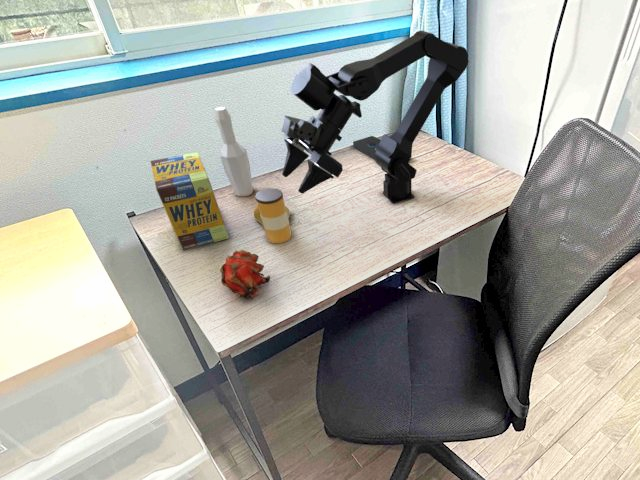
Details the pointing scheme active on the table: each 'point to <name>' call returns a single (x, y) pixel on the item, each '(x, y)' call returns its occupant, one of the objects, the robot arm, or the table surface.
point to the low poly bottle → (233, 156)
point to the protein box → (189, 200)
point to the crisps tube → (274, 215)
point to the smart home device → (367, 145)
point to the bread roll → (258, 216)
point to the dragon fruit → (243, 274)
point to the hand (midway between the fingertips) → (291, 184)
